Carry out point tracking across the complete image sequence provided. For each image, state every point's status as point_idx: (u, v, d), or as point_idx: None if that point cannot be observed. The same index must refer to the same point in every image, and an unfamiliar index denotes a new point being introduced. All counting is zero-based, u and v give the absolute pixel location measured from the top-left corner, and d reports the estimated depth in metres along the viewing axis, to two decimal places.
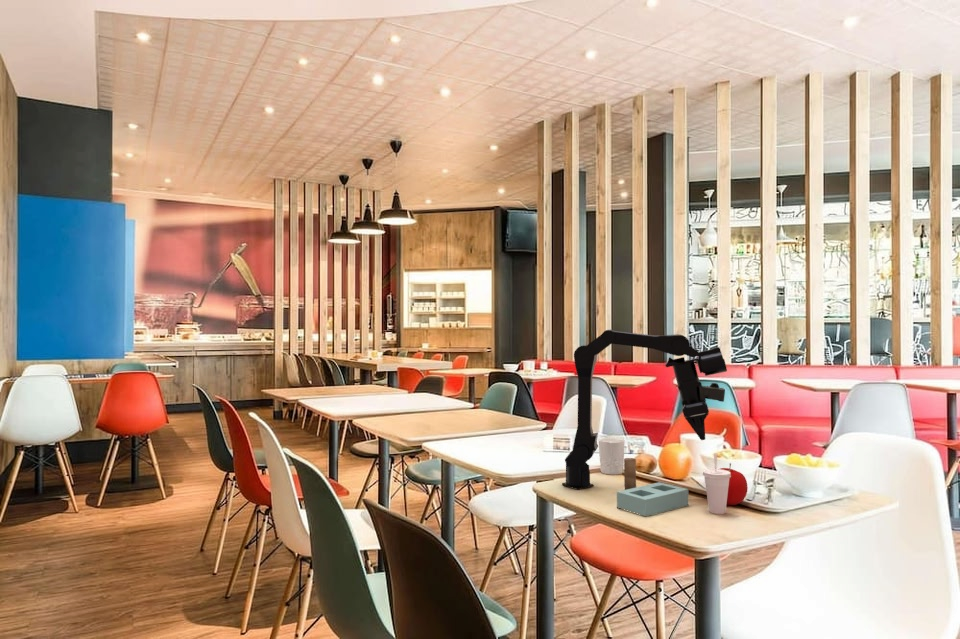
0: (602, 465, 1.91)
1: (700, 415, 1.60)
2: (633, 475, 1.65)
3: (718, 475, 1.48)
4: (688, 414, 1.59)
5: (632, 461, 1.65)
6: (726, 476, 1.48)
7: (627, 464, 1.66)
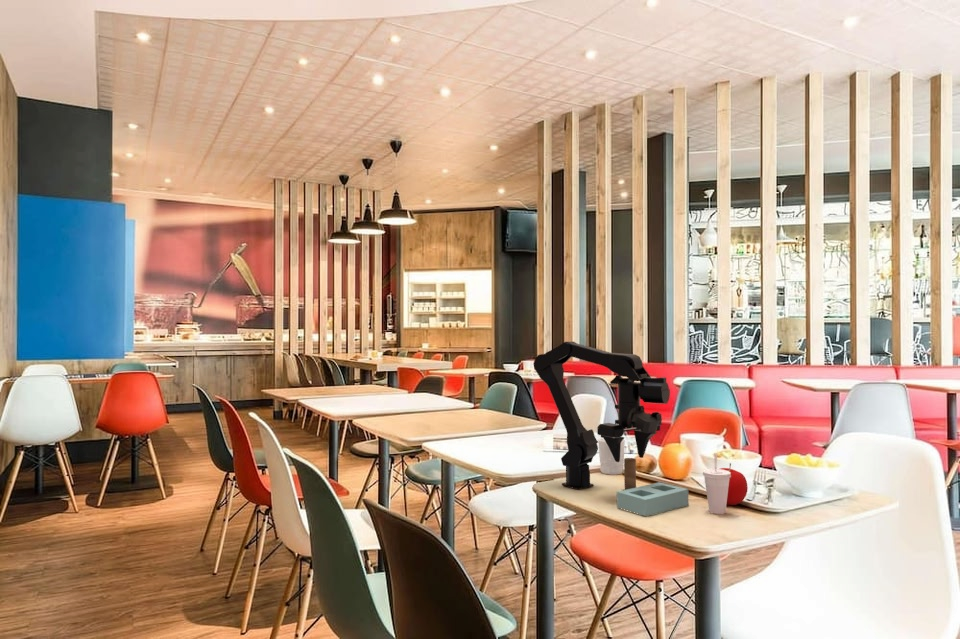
0: (602, 465, 1.91)
1: (610, 437, 1.62)
2: (633, 475, 1.65)
3: (718, 475, 1.48)
4: (599, 433, 1.63)
5: (632, 461, 1.65)
6: (726, 476, 1.48)
7: (627, 464, 1.66)
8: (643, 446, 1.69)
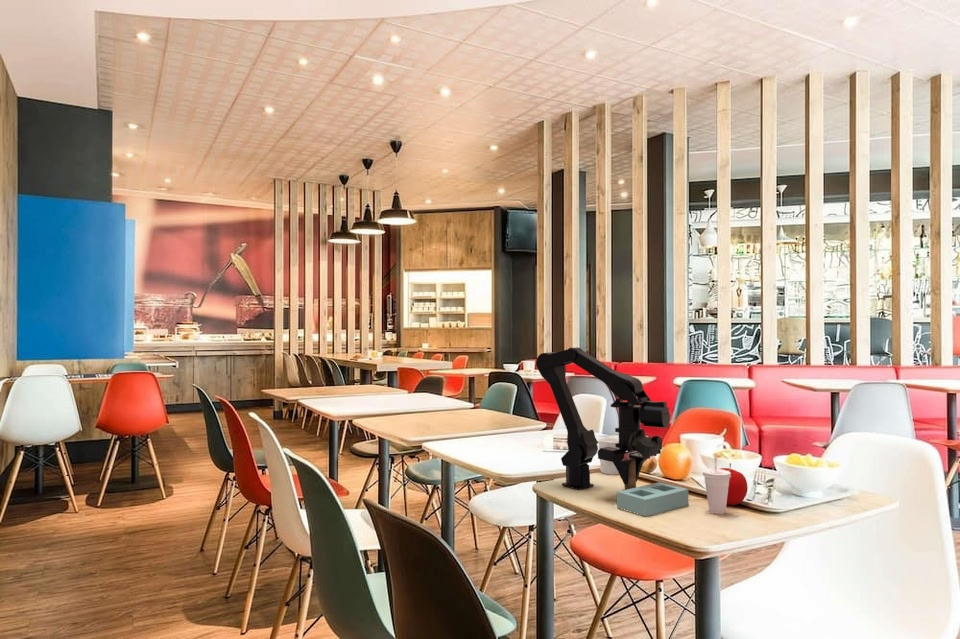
0: (602, 465, 1.91)
1: (619, 460, 1.63)
2: (633, 475, 1.65)
3: (718, 475, 1.48)
4: (599, 457, 1.63)
5: (632, 461, 1.65)
6: (726, 476, 1.48)
7: None
8: (636, 471, 1.67)
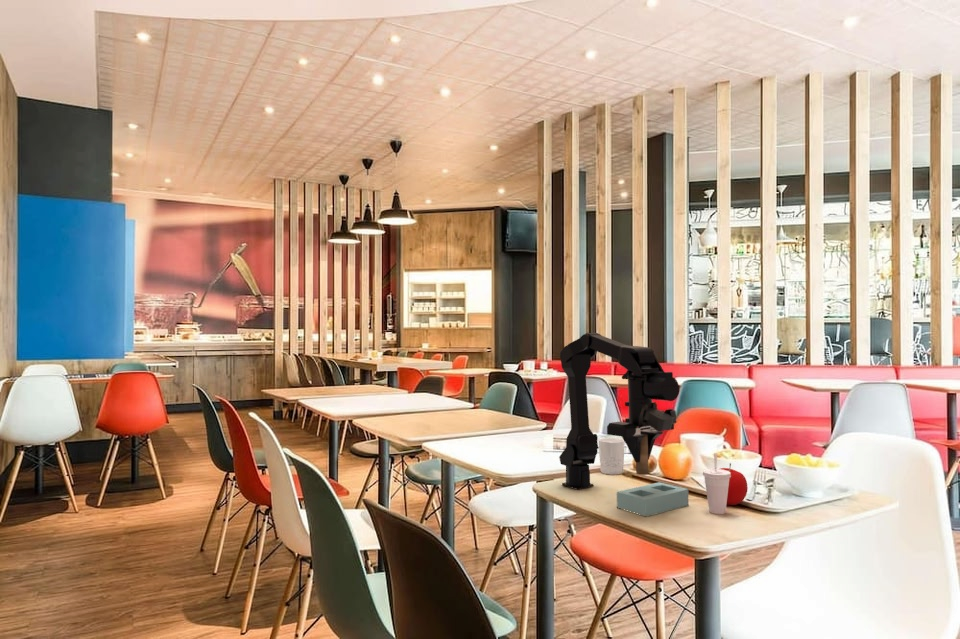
0: (602, 465, 1.91)
1: (630, 436, 1.51)
2: (646, 452, 1.53)
3: (718, 475, 1.48)
4: (609, 432, 1.51)
5: (644, 437, 1.53)
6: (726, 476, 1.48)
7: None
8: (648, 448, 1.55)
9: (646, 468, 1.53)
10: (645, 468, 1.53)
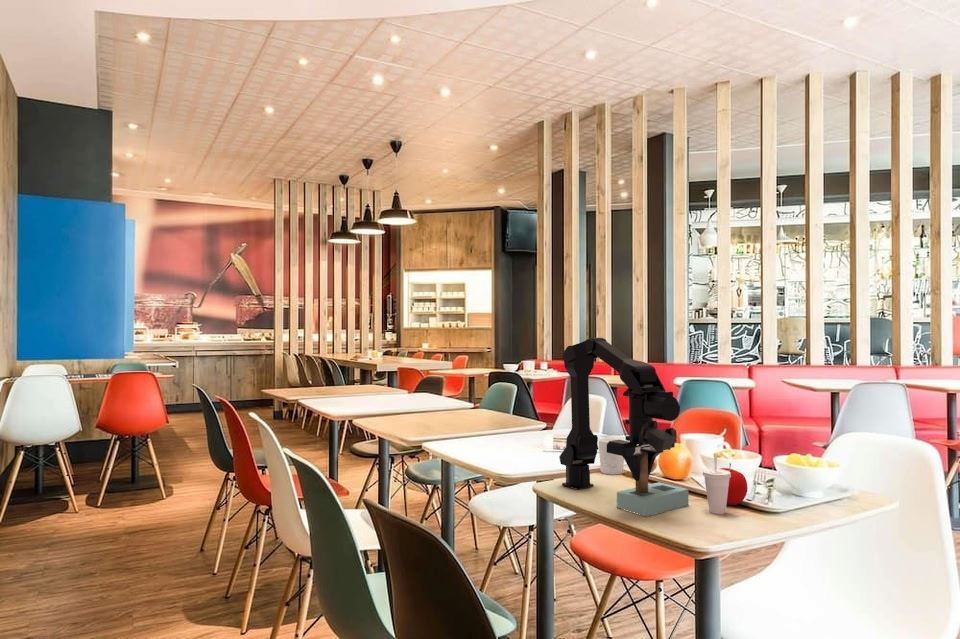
0: (602, 465, 1.91)
1: (629, 454, 1.50)
2: (645, 470, 1.52)
3: (718, 475, 1.48)
4: (608, 451, 1.50)
5: (644, 455, 1.52)
6: (726, 476, 1.48)
7: None
8: (648, 466, 1.54)
9: (645, 486, 1.52)
10: (644, 487, 1.52)
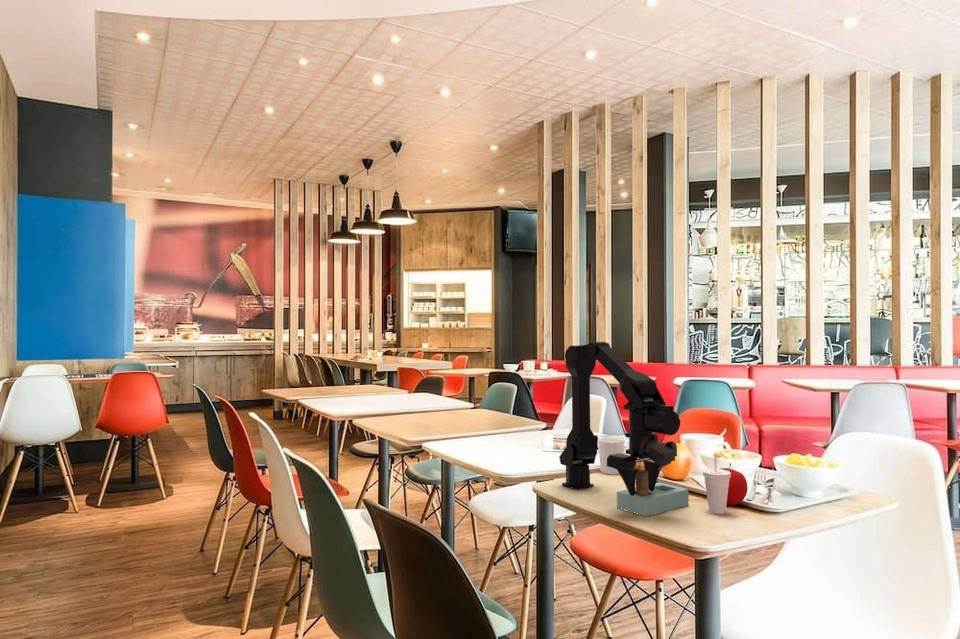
0: (602, 465, 1.91)
1: (624, 469, 1.49)
2: (646, 488, 1.52)
3: (718, 475, 1.48)
4: (608, 464, 1.50)
5: (644, 473, 1.52)
6: (726, 476, 1.48)
7: (639, 476, 1.52)
8: (653, 478, 1.54)
9: None
10: None
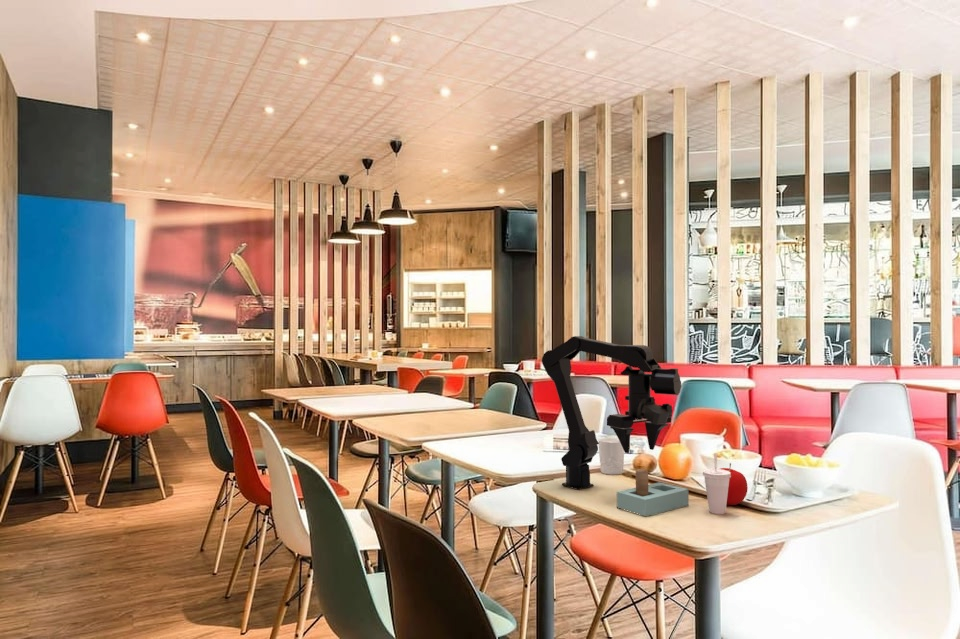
0: (602, 465, 1.91)
1: (619, 428, 1.61)
2: (646, 488, 1.52)
3: (718, 475, 1.48)
4: (608, 423, 1.62)
5: (644, 473, 1.52)
6: (726, 476, 1.48)
7: (639, 476, 1.52)
8: (654, 438, 1.67)
9: None
10: None
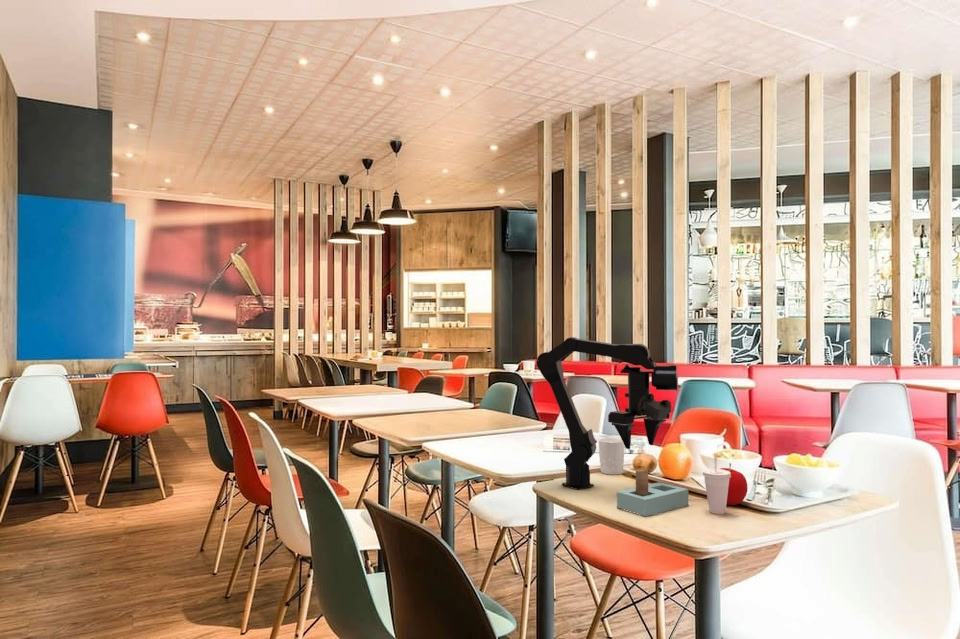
0: (602, 465, 1.91)
1: (621, 425, 1.65)
2: (646, 488, 1.52)
3: (718, 475, 1.48)
4: (610, 420, 1.67)
5: (644, 473, 1.52)
6: (726, 476, 1.48)
7: (639, 476, 1.52)
8: (653, 434, 1.72)
9: None
10: None
